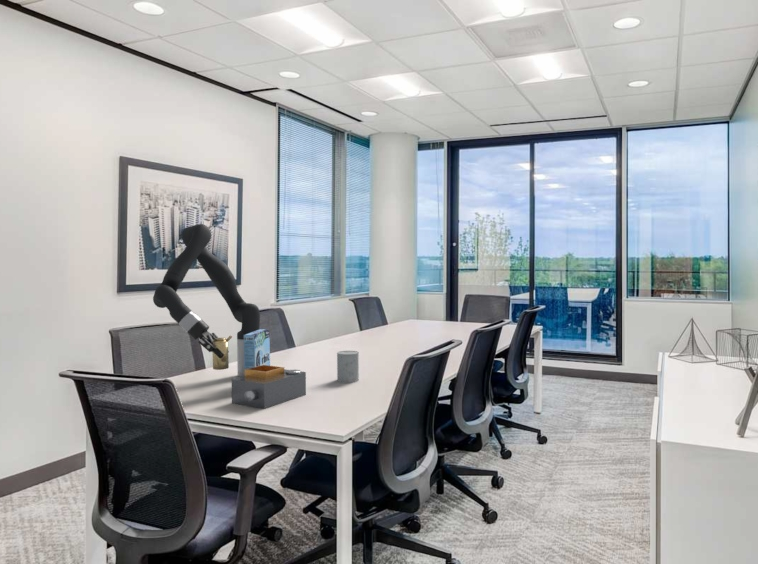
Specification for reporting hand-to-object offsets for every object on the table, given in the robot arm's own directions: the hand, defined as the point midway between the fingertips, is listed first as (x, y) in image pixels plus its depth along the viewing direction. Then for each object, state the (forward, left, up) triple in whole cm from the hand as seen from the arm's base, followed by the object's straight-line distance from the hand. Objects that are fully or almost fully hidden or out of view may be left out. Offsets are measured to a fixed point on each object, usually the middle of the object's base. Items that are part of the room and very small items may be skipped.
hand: (224, 355), depth 222 cm
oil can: (+1, -1, -5) cm, 5 cm away
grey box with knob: (-3, +20, -16) cm, 25 cm away
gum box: (-18, +1, -16) cm, 24 cm away
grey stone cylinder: (-46, +28, -16) cm, 56 cm away
